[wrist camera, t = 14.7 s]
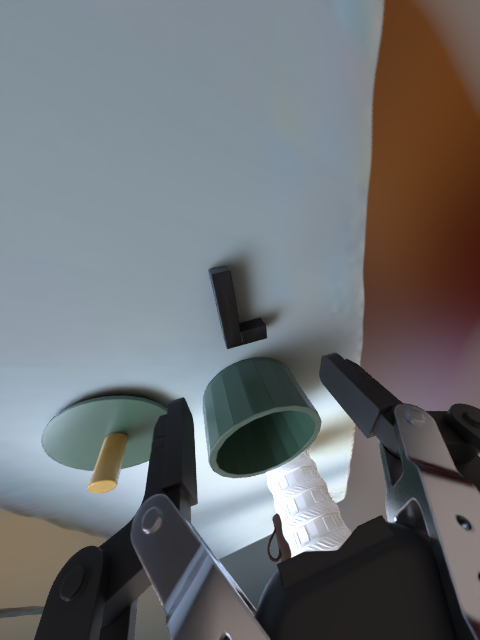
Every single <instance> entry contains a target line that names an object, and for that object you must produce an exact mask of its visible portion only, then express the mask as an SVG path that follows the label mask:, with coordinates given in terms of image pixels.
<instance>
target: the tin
mask: <svg viewBox="0 0 480 640" xmlns="http://www.w3.org/2000/svg"><path fill="white" fill-rule="evenodd" d="M203 413H204V422H205V431H206V441H207V450H208V460H209V464H210V466H211V468H212V470H213V471H214V472H216V473H218V474H219V475H221V476H224V477H230V478H243V477H251V476H255V475H259V474H263V473H266V472H268V471H271V470H273V469H276V468H278V467H280V466H282V465H284V464H286V463H288V462H290V461H291V460H293V459H294V458H295V457H297V456H298V455H300V454H301V453H302V452H304V451H305V450H306V449H307V448H308V447H309V446H310V444H311V443H312V442H313V441H314V440H315V438H316V437H317V435H318V433H319V432H320V427H321V419H320V417H319V414H318V412H317V411H316V409H315V408H314V406H313V405H312V403H311V402H310V400H309V399H308V397H307V396H306V394H305V393H304V391H303V390H302V388H301V387H300V386H299V384H298V383H297V381H296V380H295V378H294V377H293V375H292V374H291V372H290V371H289V369H287V367H286V366H285V365H283V364H282V363H280V362H279V361H276V360H274V359H269V358H252V359H247V360H243V361H240V362H237V363H235V364H233V365H231V366H229V367H227V368H226V369H224V370H223V371H221V372H220V373H219V374H218V375H216V376H215V377H214V378H213V380H212V381H211V382H210V383H209V385H208V386H207V388H206V390H205V393H204V396H203Z"/></svg>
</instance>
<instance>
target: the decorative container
mask: <svg viewBox="0 0 480 640" xmlns="http://www.w3.org/2000/svg"><path fill="white" fill-rule="evenodd" d="M309 450H310V446H309V447H308V448H307V449H306V450H305V451H304V452H302V453H301V454H300V455H298V456H297V457H295V458H294V459H293V460H291V461H290V462H288V463H286V464H284V465H282V466H280V467H278V468H276V469H273V470H271V471H268V472H266V475H267V478H268V479H267V482H268V487H269V489H270V491H271V492H272V493H273V496H274V506H275V509H276V511H277V513H278V514H279V515H280V518H281V521H282V531H283V535H284V537H285V539H286V540H287V542H288V543H289V546H290V549H291V553H292V556H291V557H294V556H296V555H298V554H300V553H302V552H304V551H335V550H338V549H339V548H340V547H341V546H342V544H343V543H344V542H345V541H346V540H347V538H348V537H349V536H350V535H351V534H352V532H351V531H350V530H349V528H348V527H346V525H345V523H344V521H343V519H342V518H341V516H340V511H339V507H338V506H337V504H336V503H335V502H334V501H333V500H332V498H331V496H330V495H329V493H328V489H327V485H326V483H325V481H324V480H323V479H322V478H321V477H320V475H319V473H318V471H317V467H316V464H315V462H314V461H313V460H312V459H311V458H310V456H309V454H308V452H309Z"/></svg>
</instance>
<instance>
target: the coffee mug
mask: <svg viewBox="0 0 480 640" xmlns="http://www.w3.org/2000/svg"><path fill="white" fill-rule="evenodd" d="M273 523H274V528H275V529H274V532H273V534H272V536H271V538H270V540H269V543H268V548H267V551H268V555H269V558H270V559H271V560H272V561H273V562H277V561H278V560H279V559H280V558H281V561H282V562H283V561H285V560H287V559H289V558H291V556H292V553H291V549H290V546H289V543H288V542H287V540H286V539H285V537H284V535H283V531H282V521H281V518H280V515H279V514H278V513H277V514H276V515H274V516H273ZM275 533H276V537H277V542H278V547H279V556H278V558H276V559H274V558H273V557H272V556H271V555H270V552H269V547H270V543H271V540H272V538H273V536H274V534H275Z"/></svg>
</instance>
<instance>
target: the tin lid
mask: <svg viewBox="0 0 480 640" xmlns="http://www.w3.org/2000/svg"><path fill="white" fill-rule="evenodd" d="M167 410H168V409H167V408H166V407H164V406H163V405H161V404H159V403H157V402H154V401H152V400H148V399H145V398H140V397H134V396H105V397H99V398H93V399H89V400H85V401H82V402H79V403H77V404H74V405H72V406H70V407H68V408H66V409H64V410H63V411H61V412H60V413H58V414H57V415H56V416H54V417H53V418H52V420H51V421H50V422H49V423H48V425H47V426H46V428H45V429H44V431H43V434H42V440H41V442H42V447H43V449H44V451H45V452H46V453H47V455H48V456H50V457H51V458H52V459H53V460H55V461H57V462H58V463H60V464H63V465H65V466H68V467H71V468H76V469H81V470H90V471H93V474H92V477H91V480H90V483H89V486H88V491H90V492H92V493H104V492H108V491H110V490H112V489H114V488H115V487H116V486H117V482H118V478H119V474H120V470H121V469H123V468H128V467H132V466H136V465H139V464H142V463H144V462H147V461H149V460H150V453H151V446H152V442H153V439H152V438H153V431H154V426H155V424H156V422H157V420H158V418H159V416H161V415H165V414H167Z"/></svg>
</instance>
